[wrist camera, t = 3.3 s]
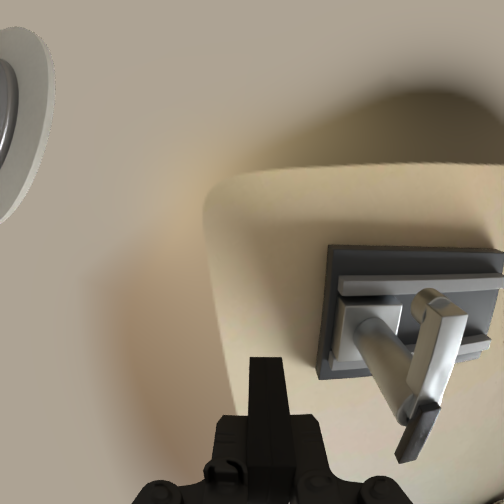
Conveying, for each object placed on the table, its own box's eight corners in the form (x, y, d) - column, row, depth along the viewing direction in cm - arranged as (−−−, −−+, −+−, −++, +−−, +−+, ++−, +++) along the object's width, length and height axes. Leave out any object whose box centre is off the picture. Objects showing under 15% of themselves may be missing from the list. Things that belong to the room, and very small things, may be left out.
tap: (341, 248, 19) (421, 317, 9) (397, 249, 19) (499, 309, 9) (328, 359, 21) (370, 470, 11) (379, 355, 21) (440, 453, 11)
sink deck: (327, 244, 21) (338, 253, 18) (495, 248, 21) (515, 256, 18) (315, 369, 23) (321, 390, 20) (471, 351, 23) (486, 364, 20)
